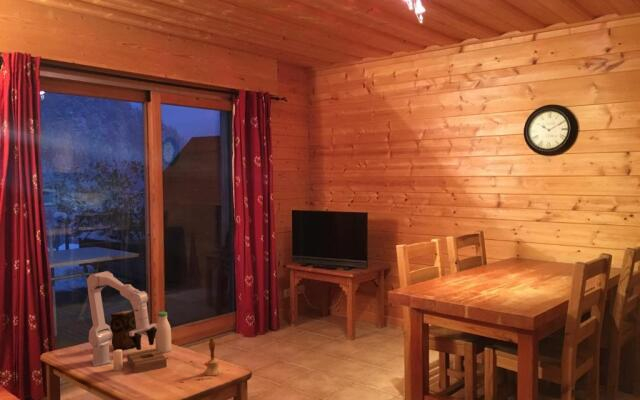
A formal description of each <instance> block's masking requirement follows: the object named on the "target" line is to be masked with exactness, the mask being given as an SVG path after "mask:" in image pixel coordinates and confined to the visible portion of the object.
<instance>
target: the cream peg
mask: <svg viewBox="0 0 640 400" xmlns="http://www.w3.org/2000/svg"><path fill="white" fill-rule="evenodd" d="M112 357H113V363H112V364H113V372H121V371H123V370H124V367H123V364H124V363H123V358H124V357H123V351H122V350H120V349H119V350H114V349H113V351H112Z"/></svg>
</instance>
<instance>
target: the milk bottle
mask: <svg viewBox="0 0 640 400" xmlns="http://www.w3.org/2000/svg"><path fill="white" fill-rule="evenodd" d="M157 318H158V319H157V323H156V329H157V332H156V334H155V338H154V340H155V348H157V349H158V350H159V351H160V352H161V353H162V354H166V353H169V352H171V351H172V329H171V325H170V324H171V323H170V322H169V321H168V312H167V311H160V312H158V313H157Z"/></svg>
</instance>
